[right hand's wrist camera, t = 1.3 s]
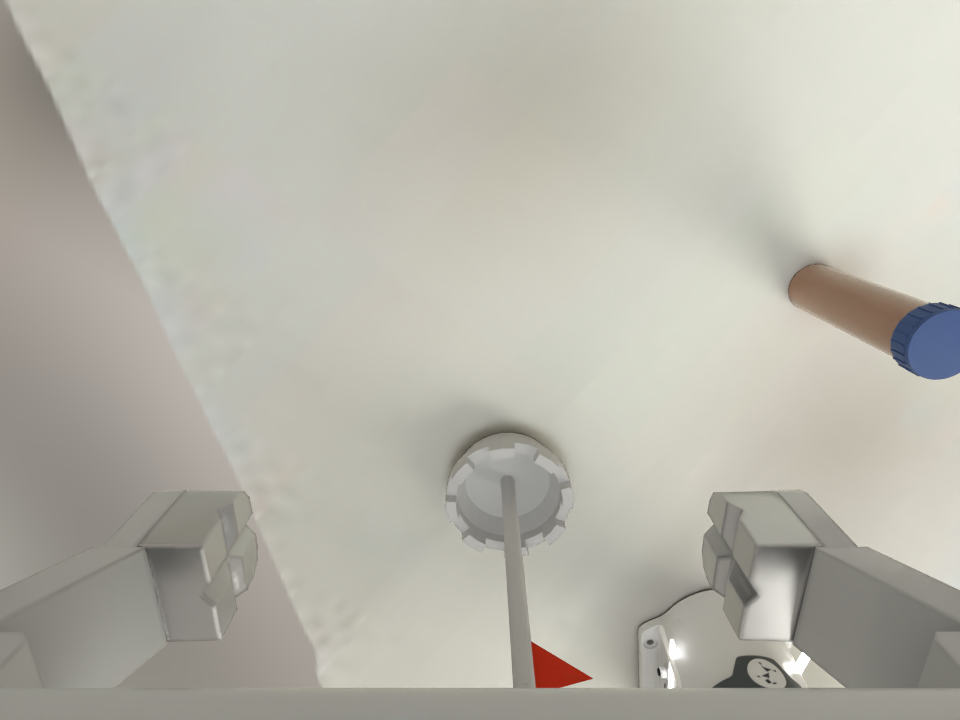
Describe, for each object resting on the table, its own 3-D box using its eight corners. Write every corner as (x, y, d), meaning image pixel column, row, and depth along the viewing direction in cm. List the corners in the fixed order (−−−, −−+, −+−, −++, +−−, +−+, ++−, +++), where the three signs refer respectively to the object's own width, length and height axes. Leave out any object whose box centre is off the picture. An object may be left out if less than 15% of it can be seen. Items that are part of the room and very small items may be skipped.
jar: (839, 300, 58) (977, 361, 42) (792, 316, 59) (911, 382, 43) (832, 257, 57) (972, 302, 41) (784, 273, 57) (903, 325, 41)
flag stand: (436, 512, 67) (403, 783, 39) (464, 411, 62) (451, 632, 34) (546, 537, 68) (593, 817, 40) (581, 439, 64) (663, 676, 35)
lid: (967, 356, 44) (988, 366, 42) (893, 380, 44) (911, 390, 42) (961, 291, 42) (982, 298, 40) (884, 316, 43) (902, 324, 41)
